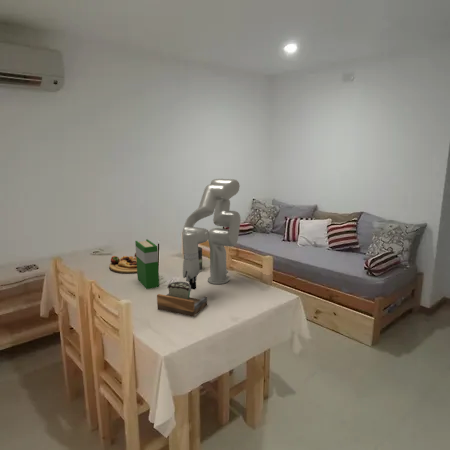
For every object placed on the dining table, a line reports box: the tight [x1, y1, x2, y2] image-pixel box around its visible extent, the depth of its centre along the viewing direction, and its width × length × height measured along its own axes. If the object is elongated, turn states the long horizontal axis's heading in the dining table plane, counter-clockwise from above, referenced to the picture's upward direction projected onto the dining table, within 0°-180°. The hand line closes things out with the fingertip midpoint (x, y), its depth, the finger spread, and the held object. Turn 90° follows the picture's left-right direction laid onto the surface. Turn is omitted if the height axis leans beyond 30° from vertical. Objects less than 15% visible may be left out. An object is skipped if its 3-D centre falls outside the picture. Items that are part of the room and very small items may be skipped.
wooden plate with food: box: [109, 252, 137, 275], centre depth 242 cm, size 32×32×8 cm
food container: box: [166, 281, 192, 300], centre depth 177 cm, size 12×6×10 cm, turn 70°
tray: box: [156, 293, 208, 318], centre depth 178 cm, size 14×20×8 cm
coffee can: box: [198, 246, 203, 272], centre depth 233 cm, size 10×10×14 cm
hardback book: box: [134, 238, 160, 290], centre depth 209 cm, size 18×7×24 cm, turn 29°
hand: (192, 288), depth 188 cm, fingers closed
